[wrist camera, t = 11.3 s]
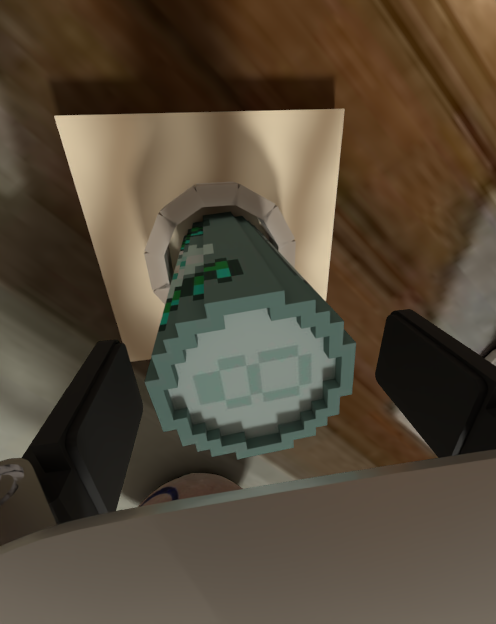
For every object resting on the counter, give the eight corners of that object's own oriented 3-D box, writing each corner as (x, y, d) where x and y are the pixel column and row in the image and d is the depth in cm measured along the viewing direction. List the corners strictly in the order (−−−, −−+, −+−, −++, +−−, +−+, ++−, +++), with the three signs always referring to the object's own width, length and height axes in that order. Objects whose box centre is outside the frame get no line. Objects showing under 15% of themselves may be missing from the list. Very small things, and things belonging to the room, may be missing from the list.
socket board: (334, 112, 20) (368, 98, 16) (316, 329, 28) (335, 356, 24) (64, 119, 18) (26, 105, 14) (132, 352, 26) (119, 385, 22)
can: (174, 219, 20) (119, 318, 7) (257, 207, 20) (361, 277, 7) (192, 296, 23) (178, 472, 10) (265, 284, 23) (348, 435, 10)
